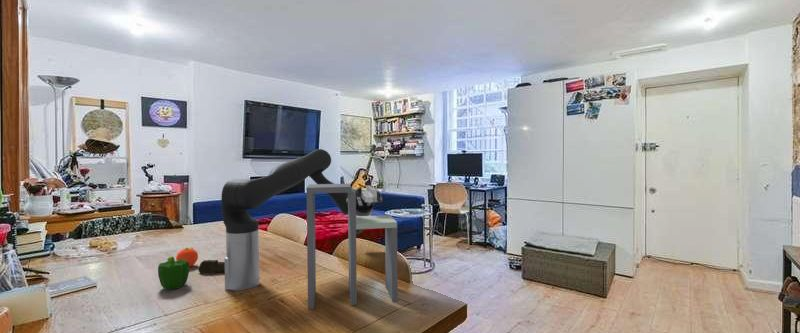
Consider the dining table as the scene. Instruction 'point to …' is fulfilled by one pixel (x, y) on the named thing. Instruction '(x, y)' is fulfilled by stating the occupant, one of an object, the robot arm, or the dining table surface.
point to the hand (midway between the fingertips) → (366, 189)
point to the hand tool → (211, 266)
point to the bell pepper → (173, 273)
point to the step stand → (351, 241)
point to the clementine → (188, 256)
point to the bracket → (369, 194)
